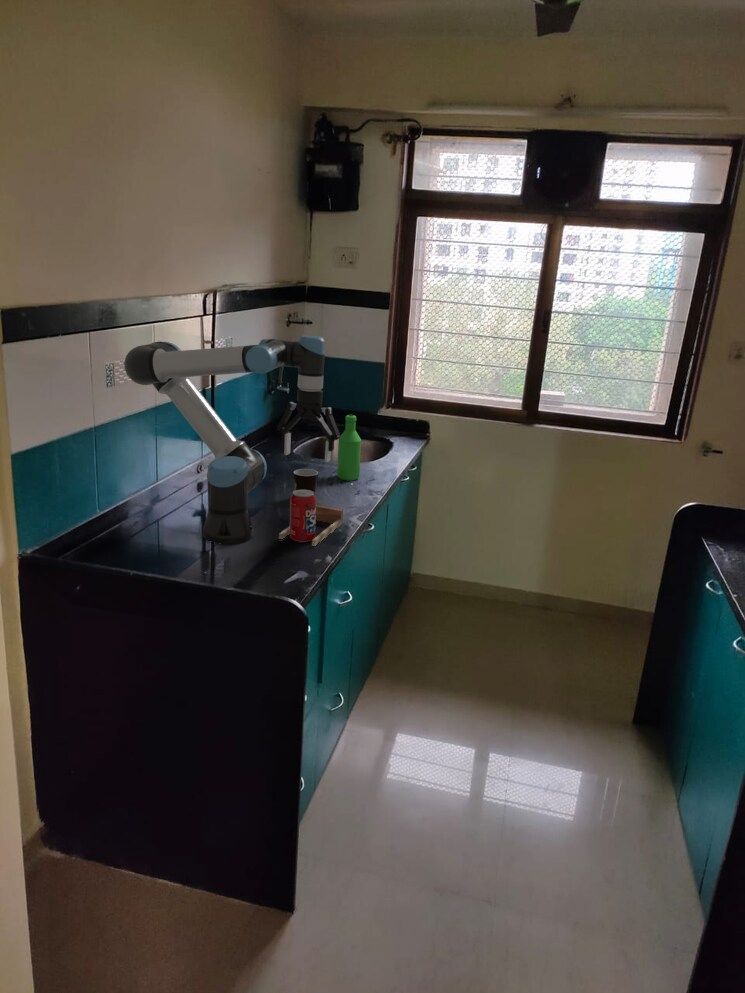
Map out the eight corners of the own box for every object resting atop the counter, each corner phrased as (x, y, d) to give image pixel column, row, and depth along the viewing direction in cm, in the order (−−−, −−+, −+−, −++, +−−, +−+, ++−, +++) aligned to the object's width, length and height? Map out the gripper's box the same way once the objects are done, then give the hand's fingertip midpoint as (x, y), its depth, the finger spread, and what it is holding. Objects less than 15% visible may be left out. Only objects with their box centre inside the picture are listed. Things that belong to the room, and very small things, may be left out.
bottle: (362, 480, 276) (365, 417, 268) (341, 482, 273) (344, 418, 265) (354, 474, 284) (357, 413, 276) (334, 475, 281) (336, 413, 273)
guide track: (314, 546, 210) (315, 531, 209) (278, 539, 214) (279, 524, 212) (342, 523, 230) (343, 509, 229) (309, 517, 234) (309, 503, 232)
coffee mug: (313, 504, 246) (314, 477, 243) (289, 501, 248) (290, 474, 245) (322, 494, 257) (323, 468, 254) (299, 491, 259) (300, 465, 256)
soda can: (286, 535, 218) (287, 489, 213) (311, 533, 221) (312, 487, 216) (293, 545, 211) (294, 497, 206) (318, 542, 214) (319, 495, 209)
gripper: (353, 392, 210) (349, 461, 217) (278, 382, 217) (276, 448, 224) (344, 396, 203) (340, 466, 210) (266, 385, 210) (265, 454, 217)
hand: (307, 457), depth 217 cm, fingers open, 13 cm apart
